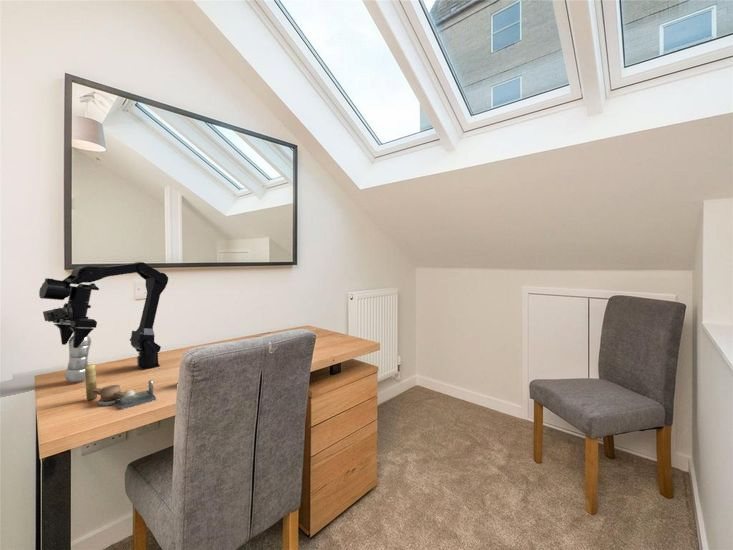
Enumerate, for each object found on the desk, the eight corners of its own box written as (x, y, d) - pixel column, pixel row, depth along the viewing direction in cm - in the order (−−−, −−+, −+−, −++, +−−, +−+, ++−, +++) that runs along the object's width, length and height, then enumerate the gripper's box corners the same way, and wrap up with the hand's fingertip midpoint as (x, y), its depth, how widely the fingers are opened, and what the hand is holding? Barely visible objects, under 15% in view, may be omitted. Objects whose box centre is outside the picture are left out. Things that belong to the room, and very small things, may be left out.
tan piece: (140, 400, 107) (139, 367, 106) (125, 407, 102) (123, 372, 101) (96, 394, 111) (95, 362, 111) (80, 400, 107) (78, 367, 106)
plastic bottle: (83, 376, 129) (88, 324, 128) (91, 381, 125) (96, 328, 124) (61, 380, 123) (66, 326, 122) (69, 385, 120) (74, 330, 119)
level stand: (146, 389, 116) (146, 375, 116) (157, 399, 108) (157, 384, 108) (96, 402, 106) (95, 386, 106) (103, 414, 98) (103, 397, 98)
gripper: (38, 297, 118) (28, 343, 116) (61, 300, 108) (50, 350, 106) (77, 300, 127) (68, 342, 125) (101, 303, 118) (92, 349, 116)
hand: (69, 346), depth 118 cm, fingers open, 9 cm apart
